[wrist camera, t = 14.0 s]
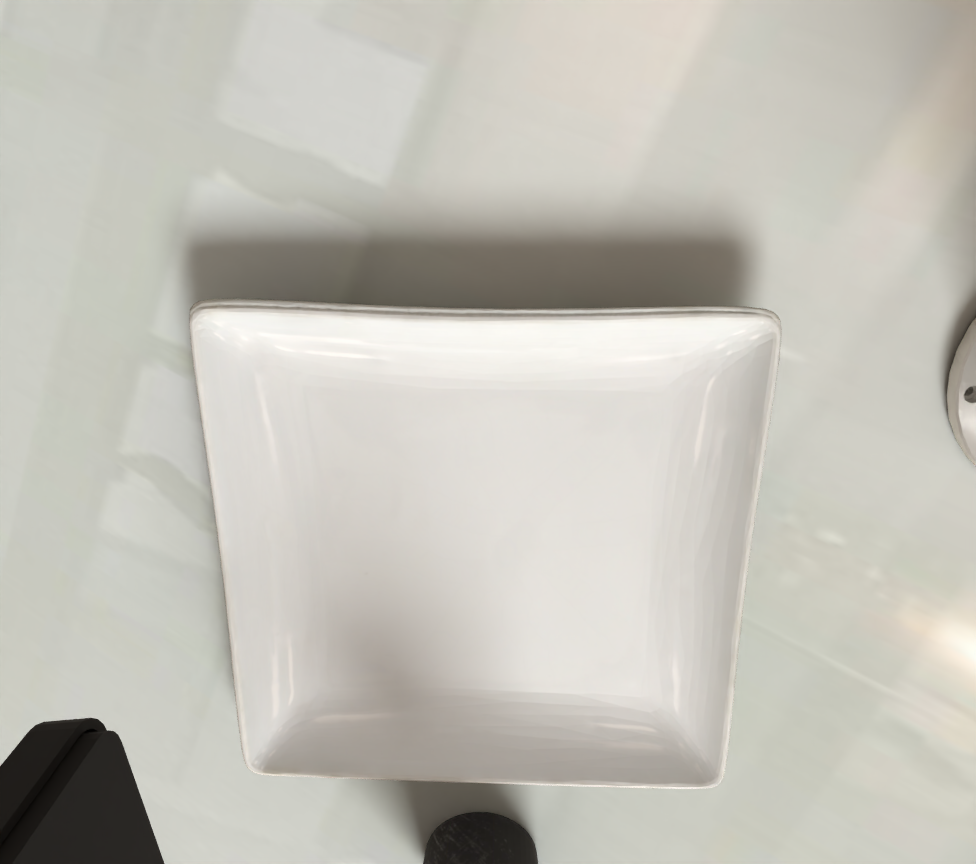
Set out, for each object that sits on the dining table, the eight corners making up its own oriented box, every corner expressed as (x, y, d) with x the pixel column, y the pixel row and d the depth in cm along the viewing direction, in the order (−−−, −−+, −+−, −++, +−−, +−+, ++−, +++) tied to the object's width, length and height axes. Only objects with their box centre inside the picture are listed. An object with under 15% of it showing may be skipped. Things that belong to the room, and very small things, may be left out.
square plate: (765, 292, 39) (790, 308, 35) (709, 748, 49) (724, 798, 45) (208, 286, 40) (177, 302, 36) (260, 735, 49) (240, 784, 46)
